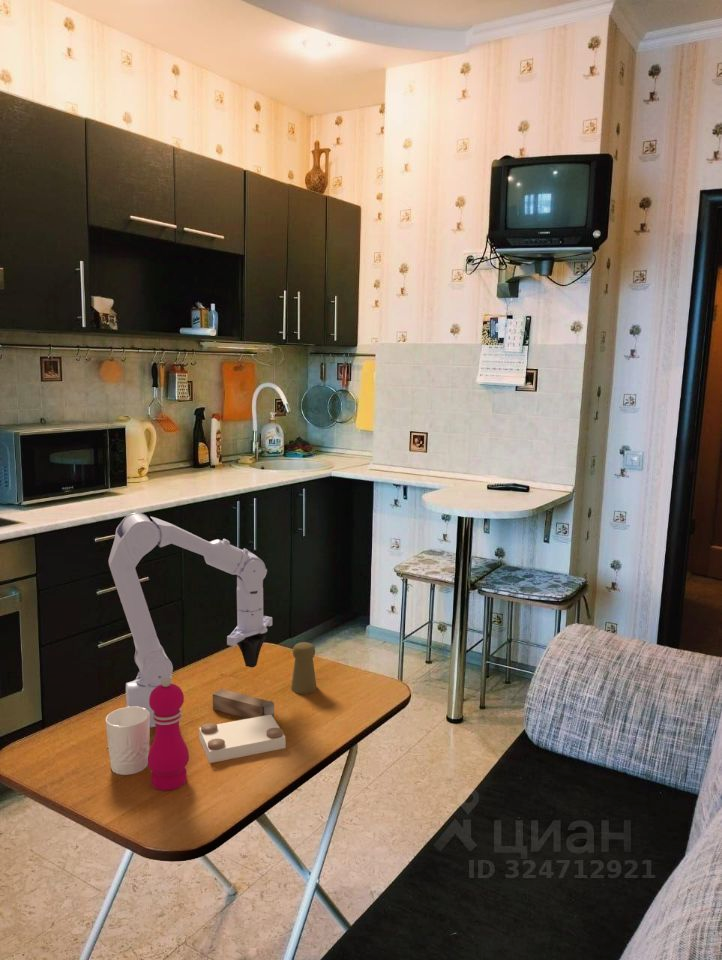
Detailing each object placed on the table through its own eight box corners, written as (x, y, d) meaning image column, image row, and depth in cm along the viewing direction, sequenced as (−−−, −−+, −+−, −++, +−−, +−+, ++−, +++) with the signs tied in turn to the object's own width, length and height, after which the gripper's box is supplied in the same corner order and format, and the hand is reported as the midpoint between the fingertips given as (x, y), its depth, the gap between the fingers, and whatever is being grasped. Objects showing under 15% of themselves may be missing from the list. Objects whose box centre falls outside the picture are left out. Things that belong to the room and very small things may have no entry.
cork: (315, 695, 170) (316, 649, 169) (289, 694, 171) (289, 649, 169) (317, 683, 176) (318, 639, 175) (292, 683, 176) (292, 639, 175)
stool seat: (209, 763, 141) (209, 748, 141) (199, 739, 150) (199, 724, 150) (285, 748, 147) (285, 734, 146) (271, 725, 156) (271, 711, 156)
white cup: (156, 770, 139) (154, 720, 137) (112, 781, 135) (110, 730, 133) (145, 750, 146) (144, 702, 144) (104, 761, 142) (101, 712, 140)
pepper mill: (196, 773, 138) (194, 671, 135) (176, 795, 131) (173, 688, 128) (161, 767, 140) (158, 666, 136) (140, 788, 133) (136, 683, 130)
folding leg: (277, 718, 159) (277, 702, 158) (269, 724, 156) (269, 707, 155) (221, 703, 165) (221, 687, 165) (212, 709, 163) (212, 692, 162)
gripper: (245, 620, 156) (246, 681, 158) (283, 600, 169) (283, 657, 171) (218, 615, 159) (219, 675, 161) (257, 596, 172) (258, 651, 174)
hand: (251, 665), depth 166 cm, fingers closed
